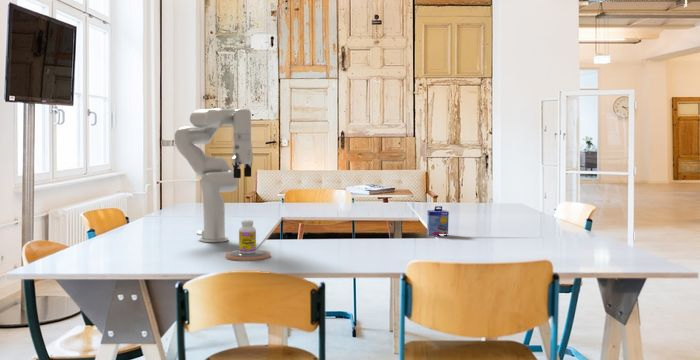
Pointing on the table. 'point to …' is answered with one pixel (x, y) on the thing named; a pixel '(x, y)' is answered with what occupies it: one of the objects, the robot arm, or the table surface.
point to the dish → (247, 255)
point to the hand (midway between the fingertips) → (242, 177)
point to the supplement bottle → (247, 238)
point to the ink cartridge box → (437, 221)
